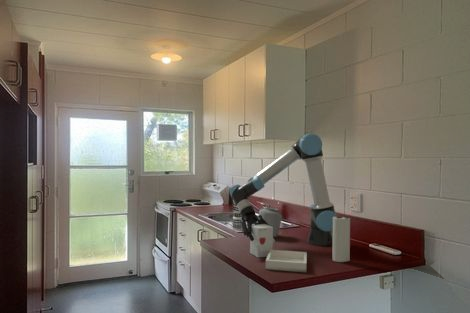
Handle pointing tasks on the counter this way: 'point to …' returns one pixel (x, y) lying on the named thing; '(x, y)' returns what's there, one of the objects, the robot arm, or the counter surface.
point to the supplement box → (262, 240)
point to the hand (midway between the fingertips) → (265, 244)
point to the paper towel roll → (341, 239)
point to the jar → (272, 218)
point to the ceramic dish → (286, 260)
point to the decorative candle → (236, 218)
